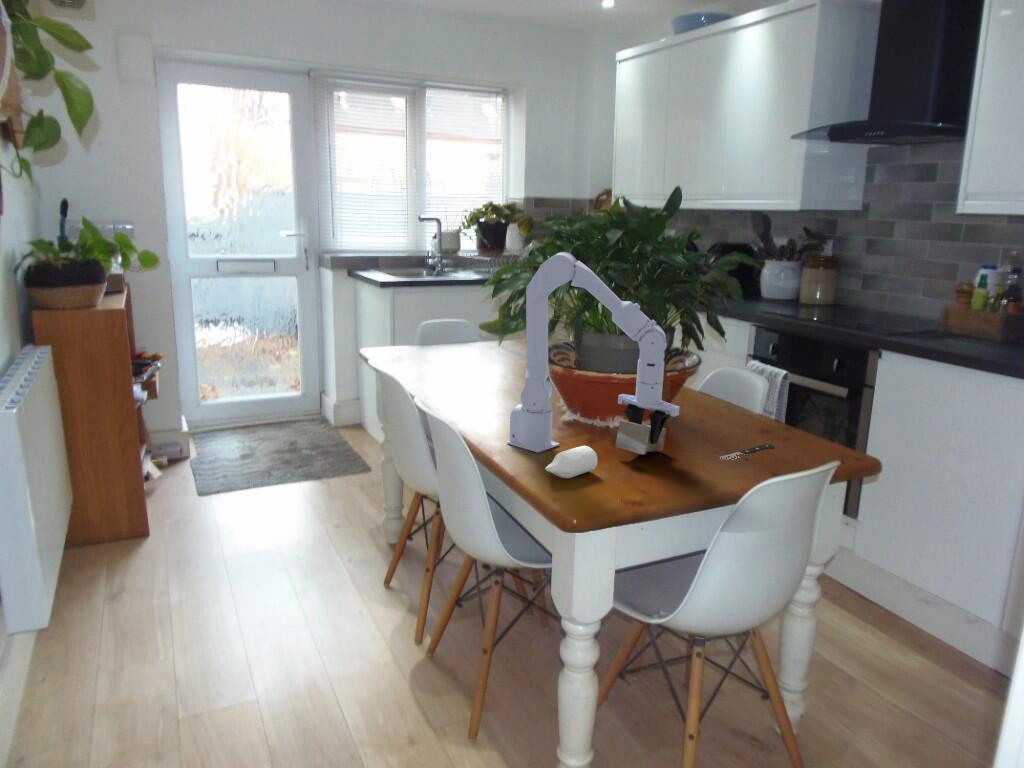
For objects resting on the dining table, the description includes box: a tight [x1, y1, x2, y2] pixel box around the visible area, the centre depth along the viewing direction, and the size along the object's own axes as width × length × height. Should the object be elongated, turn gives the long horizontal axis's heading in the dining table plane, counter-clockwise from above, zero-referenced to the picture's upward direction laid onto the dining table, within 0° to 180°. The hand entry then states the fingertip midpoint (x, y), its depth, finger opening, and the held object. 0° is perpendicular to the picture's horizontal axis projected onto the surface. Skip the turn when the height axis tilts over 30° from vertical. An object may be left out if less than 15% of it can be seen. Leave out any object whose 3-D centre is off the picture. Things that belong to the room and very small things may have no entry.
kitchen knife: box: [719, 443, 775, 461], centre depth 166 cm, size 29×1×10 cm
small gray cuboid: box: [615, 419, 667, 455], centre depth 166 cm, size 11×7×6 cm, turn 138°
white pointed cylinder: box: [544, 445, 598, 479], centre depth 152 cm, size 6×12×6 cm, turn 132°
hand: (645, 440), depth 167 cm, fingers closed on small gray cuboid, 4 cm apart
